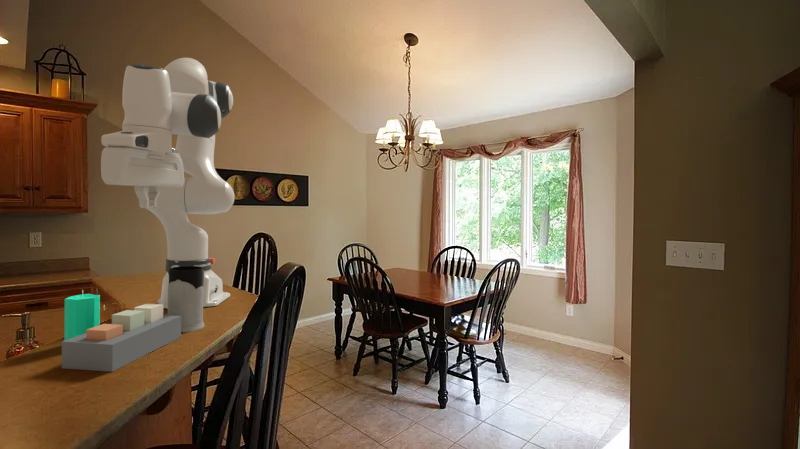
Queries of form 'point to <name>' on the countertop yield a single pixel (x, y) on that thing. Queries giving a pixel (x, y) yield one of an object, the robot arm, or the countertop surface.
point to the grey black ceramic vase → (186, 296)
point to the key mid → (129, 319)
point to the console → (119, 346)
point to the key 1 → (104, 332)
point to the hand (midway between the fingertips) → (147, 207)
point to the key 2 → (151, 312)
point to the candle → (81, 314)
